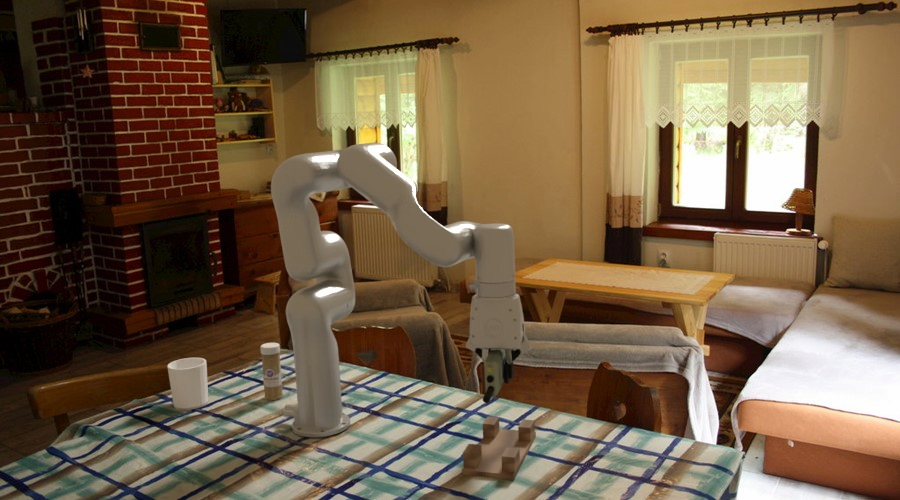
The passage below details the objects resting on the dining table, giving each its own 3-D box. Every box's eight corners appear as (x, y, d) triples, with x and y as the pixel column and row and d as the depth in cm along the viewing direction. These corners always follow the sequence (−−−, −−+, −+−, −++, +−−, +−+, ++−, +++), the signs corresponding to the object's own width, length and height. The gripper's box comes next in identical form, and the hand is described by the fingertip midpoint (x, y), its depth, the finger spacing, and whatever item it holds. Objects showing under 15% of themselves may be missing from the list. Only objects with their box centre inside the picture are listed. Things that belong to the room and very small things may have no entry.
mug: (218, 401, 191) (214, 360, 189) (188, 413, 183) (184, 371, 182) (188, 393, 197) (184, 354, 195) (158, 405, 189) (153, 364, 187)
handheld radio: (514, 363, 164) (496, 407, 140) (498, 363, 165) (477, 406, 141) (512, 332, 163) (494, 371, 139) (496, 332, 164) (475, 371, 140)
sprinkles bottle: (264, 401, 189) (260, 348, 187) (264, 395, 193) (260, 343, 191) (283, 399, 190) (279, 346, 188) (283, 393, 194) (279, 341, 192)
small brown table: (462, 474, 147) (461, 454, 146) (489, 432, 166) (488, 414, 165) (513, 480, 144) (513, 459, 143) (535, 436, 163) (535, 418, 162)
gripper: (449, 292, 148) (454, 384, 151) (533, 294, 143) (536, 390, 146) (461, 283, 155) (465, 372, 158) (541, 285, 150) (544, 376, 153)
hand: (499, 380), depth 152 cm, fingers closed on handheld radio, 2 cm apart
